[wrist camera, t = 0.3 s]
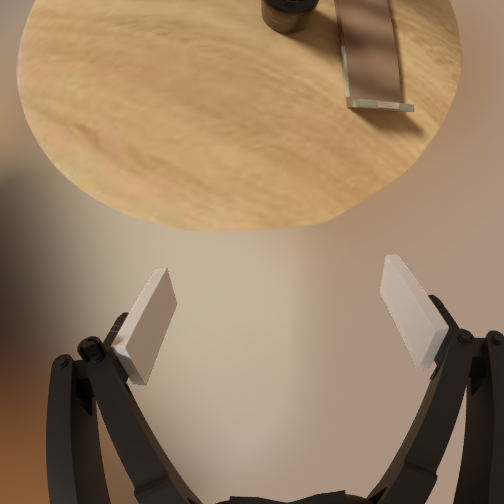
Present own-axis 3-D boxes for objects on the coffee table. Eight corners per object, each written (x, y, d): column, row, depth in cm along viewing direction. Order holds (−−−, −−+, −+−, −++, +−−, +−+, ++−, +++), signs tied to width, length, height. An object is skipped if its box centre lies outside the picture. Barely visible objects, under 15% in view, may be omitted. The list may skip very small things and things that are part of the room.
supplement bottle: (318, 23, 28) (338, -7, 18) (278, 41, 30) (284, 13, 20) (292, -9, 26) (301, -47, 15) (252, 8, 28) (247, -28, 17)
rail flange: (328, -19, 24) (337, -35, 19) (379, -11, 24) (394, -24, 18) (345, 107, 34) (359, 106, 29) (396, 111, 34) (416, 112, 28)
